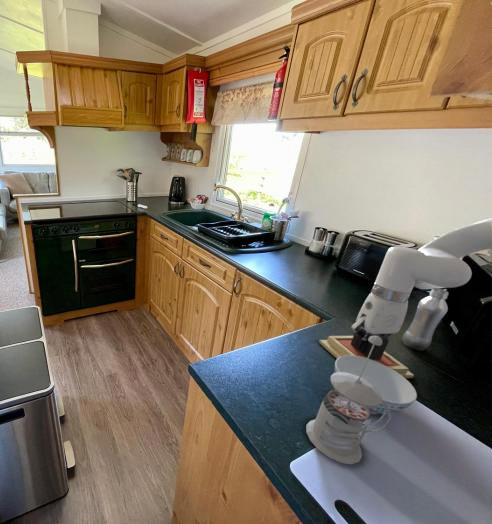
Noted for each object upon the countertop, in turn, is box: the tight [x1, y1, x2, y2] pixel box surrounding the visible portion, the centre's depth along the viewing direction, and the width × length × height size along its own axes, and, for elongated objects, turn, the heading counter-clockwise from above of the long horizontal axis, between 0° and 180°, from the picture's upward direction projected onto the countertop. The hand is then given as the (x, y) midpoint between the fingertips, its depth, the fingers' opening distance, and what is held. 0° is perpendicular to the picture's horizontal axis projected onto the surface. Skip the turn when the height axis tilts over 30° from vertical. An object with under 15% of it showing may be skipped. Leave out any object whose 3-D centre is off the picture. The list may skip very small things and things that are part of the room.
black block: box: [338, 330, 394, 366], centre depth 83 cm, size 8×11×8 cm
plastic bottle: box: [401, 287, 449, 352], centre depth 89 cm, size 6×7×20 cm
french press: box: [305, 336, 392, 465], centre depth 54 cm, size 10×12×25 cm
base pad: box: [318, 335, 415, 379], centre depth 84 cm, size 16×16×3 cm
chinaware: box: [334, 355, 418, 415], centre depth 67 cm, size 15×15×8 cm
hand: (366, 348), depth 83 cm, fingers open, 4 cm apart
